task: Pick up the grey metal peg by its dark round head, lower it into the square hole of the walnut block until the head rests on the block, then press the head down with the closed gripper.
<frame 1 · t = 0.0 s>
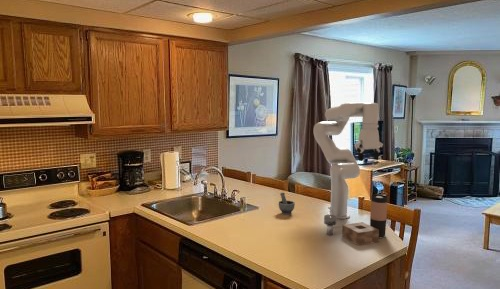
hand: (368, 160, 186), 37 cm above the worktop, tool pointing down, fingers open, 9 cm apart
mortar and pestle: (285, 213, 217), on the worktop
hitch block: (359, 239, 176), on the worktop
peg: (329, 234, 182), on the worktop
travel mug: (377, 235, 181), on the worktop
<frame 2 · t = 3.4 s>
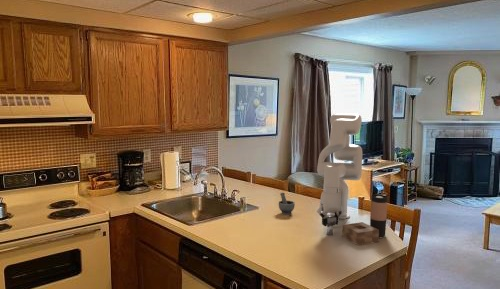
hand: (330, 224, 182), 5 cm above the worktop, tool pointing down, fingers closed on peg, 6 cm apart
peg: (329, 234, 182), on the worktop, touching gripper
everything else where it was.
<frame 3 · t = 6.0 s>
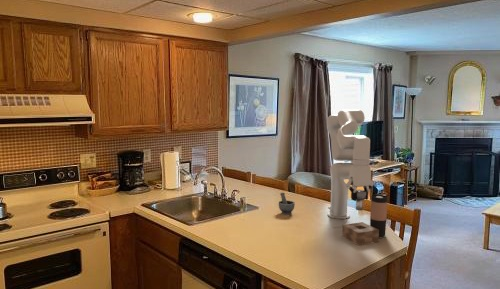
hand: (359, 199, 174), 20 cm above the worktop, tool pointing down, fingers closed on peg, 6 cm apart
peg: (359, 209, 174), point 15 cm above the worktop, touching gripper
everything else where it was.
when the fingers open (7 cm above the worktop, at t = 8.7 s): peg drops 2 cm, resting on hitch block.
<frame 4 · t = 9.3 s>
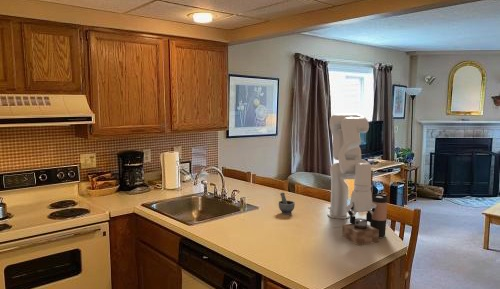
hand: (360, 222, 175), 8 cm above the worktop, tool pointing down, fingers open, 9 cm apart
peg: (360, 238, 176), resting on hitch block
everything else where it was.
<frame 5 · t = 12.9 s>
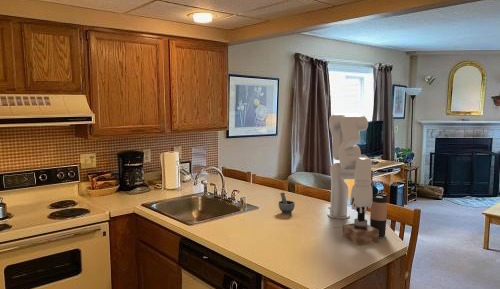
hand: (360, 220, 174), 9 cm above the worktop, tool pointing down, fingers closed
peg: (360, 238, 176), resting on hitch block, touching gripper
everything else where it was.
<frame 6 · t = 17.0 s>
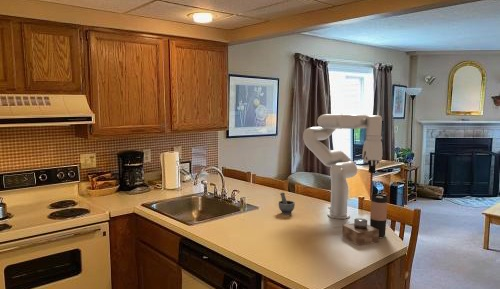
hand: (371, 172, 193), 29 cm above the worktop, tool pointing down, fingers closed
peg: (360, 238, 176), resting on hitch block
everything else where it was.
at the end: peg 0.0 cm off-centre on the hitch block, point 0.4 cm above the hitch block's base; peg tilted 0°; the gripper is holding nothing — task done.
